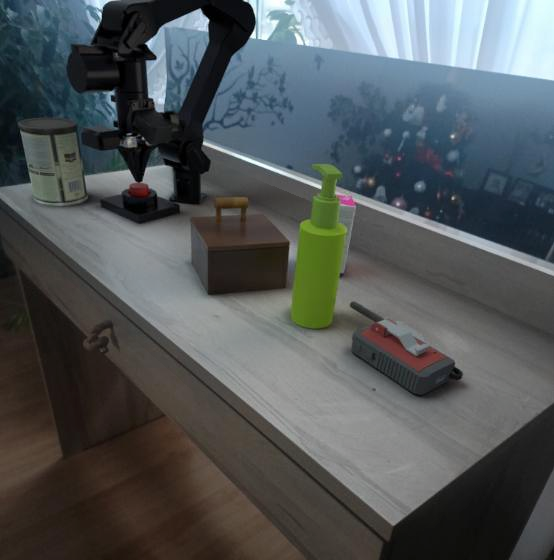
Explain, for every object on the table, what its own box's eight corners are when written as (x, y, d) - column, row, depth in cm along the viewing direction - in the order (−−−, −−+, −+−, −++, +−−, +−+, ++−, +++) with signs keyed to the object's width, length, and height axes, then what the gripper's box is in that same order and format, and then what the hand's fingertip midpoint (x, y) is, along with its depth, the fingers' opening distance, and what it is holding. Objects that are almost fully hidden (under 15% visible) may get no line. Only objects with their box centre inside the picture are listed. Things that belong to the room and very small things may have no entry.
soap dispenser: (320, 302, 75) (340, 160, 64) (339, 326, 70) (364, 175, 59) (282, 306, 74) (295, 160, 62) (299, 330, 68) (317, 176, 57)
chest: (191, 263, 83) (190, 223, 79) (262, 258, 87) (265, 219, 83) (207, 295, 75) (207, 252, 71) (285, 287, 79) (289, 246, 75)
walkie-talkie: (471, 379, 62) (354, 309, 74) (482, 349, 60) (359, 282, 72) (424, 404, 57) (309, 325, 70) (434, 372, 55) (312, 296, 67)
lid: (189, 221, 80) (188, 195, 78) (263, 217, 84) (265, 192, 81) (207, 251, 71) (207, 222, 69) (289, 246, 75) (292, 218, 72)
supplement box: (344, 276, 83) (356, 206, 77) (308, 273, 83) (317, 203, 77) (341, 262, 88) (352, 194, 82) (307, 259, 88) (315, 191, 81)
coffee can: (48, 188, 108) (35, 114, 100) (96, 193, 108) (86, 120, 99) (23, 203, 100) (6, 124, 91) (74, 209, 99) (62, 130, 91)
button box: (142, 197, 108) (140, 180, 106) (180, 213, 102) (179, 195, 100) (100, 207, 101) (98, 189, 99) (139, 224, 95) (137, 205, 93)
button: (141, 190, 102) (140, 181, 101) (152, 195, 100) (152, 186, 99) (126, 193, 99) (125, 184, 98) (137, 198, 98) (137, 189, 97)
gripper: (113, 101, 79) (123, 202, 88) (202, 94, 91) (203, 184, 100) (72, 90, 85) (86, 186, 94) (162, 85, 97) (166, 170, 106)
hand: (138, 182), depth 98 cm, fingers closed
